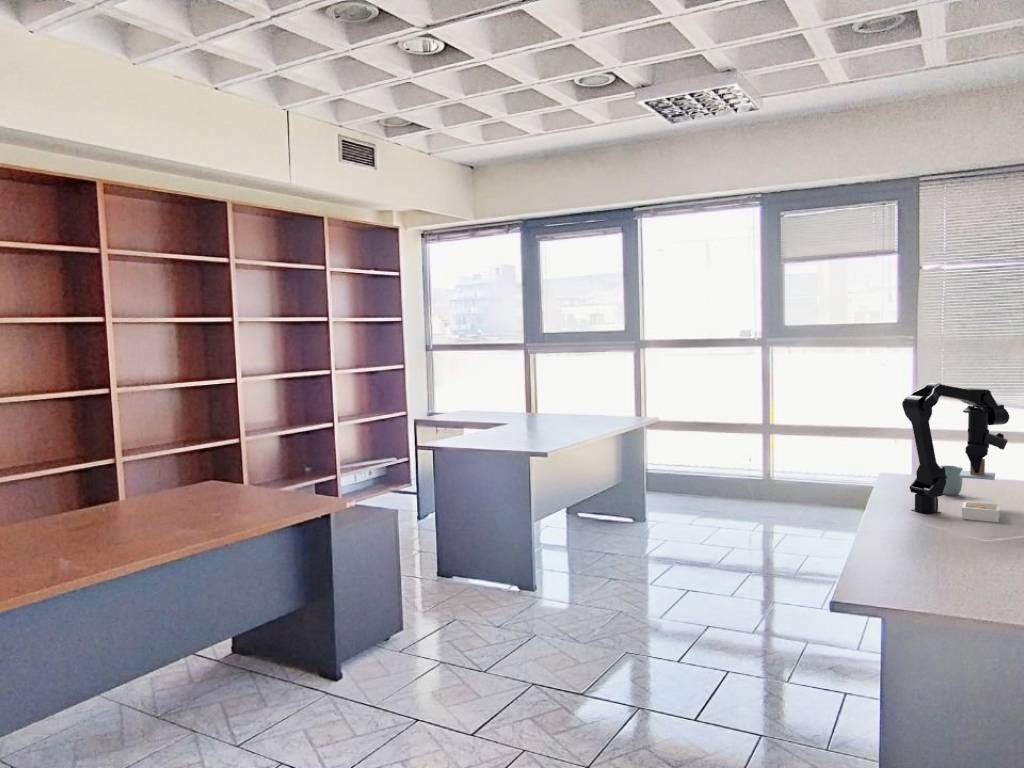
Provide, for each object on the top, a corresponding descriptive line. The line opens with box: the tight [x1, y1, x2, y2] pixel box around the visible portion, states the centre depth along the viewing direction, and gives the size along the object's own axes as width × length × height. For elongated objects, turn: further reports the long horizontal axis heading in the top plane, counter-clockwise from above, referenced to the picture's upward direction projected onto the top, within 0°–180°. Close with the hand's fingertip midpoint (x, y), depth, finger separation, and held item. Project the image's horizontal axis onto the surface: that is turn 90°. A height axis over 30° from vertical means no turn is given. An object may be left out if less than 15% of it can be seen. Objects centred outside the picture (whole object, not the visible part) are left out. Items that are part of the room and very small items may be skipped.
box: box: [961, 501, 1001, 523], centre depth 250 cm, size 10×10×4 cm
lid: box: [959, 458, 996, 481], centre depth 264 cm, size 10×10×6 cm
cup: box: [941, 465, 964, 496], centre depth 286 cm, size 8×8×10 cm
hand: (977, 471), depth 264 cm, fingers closed on lid, 4 cm apart
